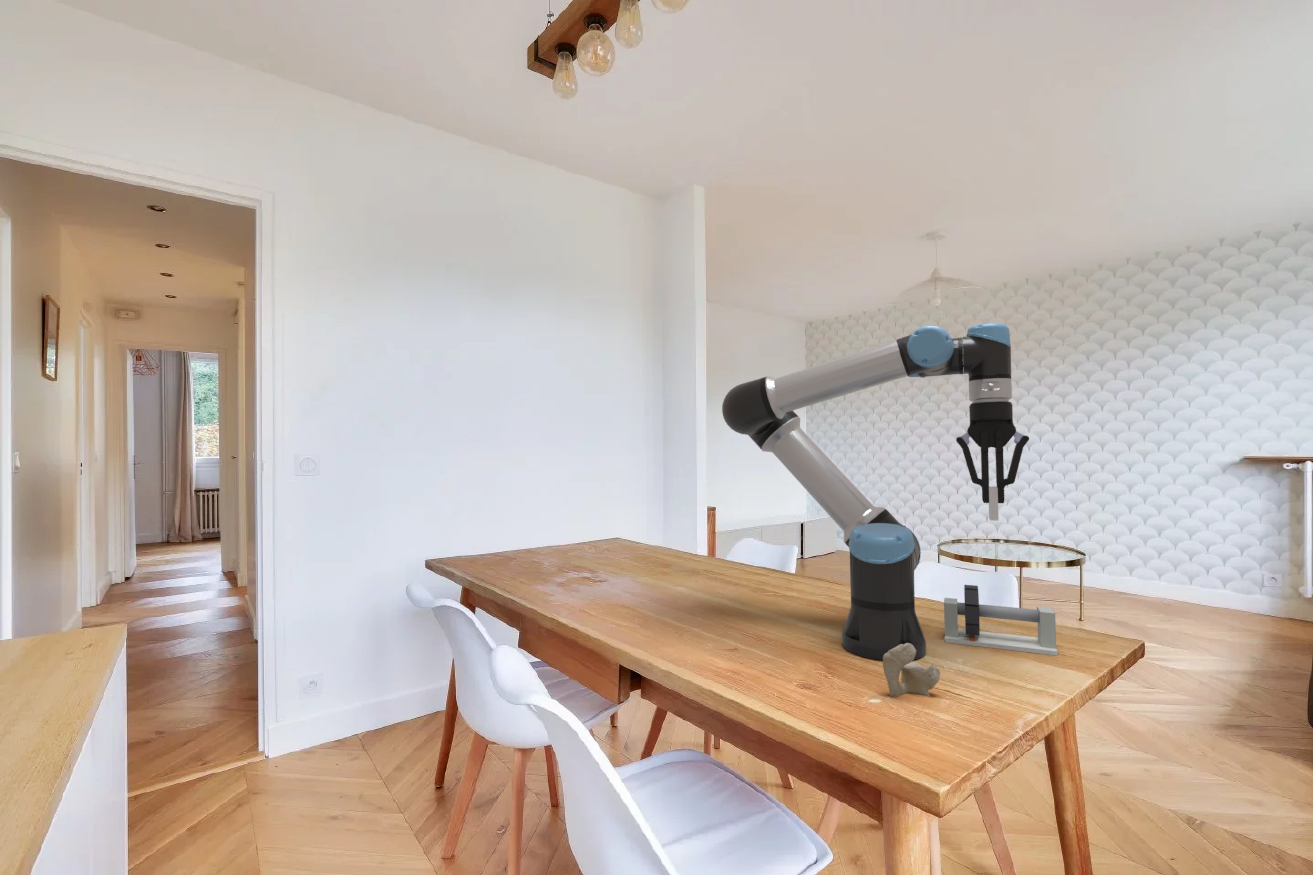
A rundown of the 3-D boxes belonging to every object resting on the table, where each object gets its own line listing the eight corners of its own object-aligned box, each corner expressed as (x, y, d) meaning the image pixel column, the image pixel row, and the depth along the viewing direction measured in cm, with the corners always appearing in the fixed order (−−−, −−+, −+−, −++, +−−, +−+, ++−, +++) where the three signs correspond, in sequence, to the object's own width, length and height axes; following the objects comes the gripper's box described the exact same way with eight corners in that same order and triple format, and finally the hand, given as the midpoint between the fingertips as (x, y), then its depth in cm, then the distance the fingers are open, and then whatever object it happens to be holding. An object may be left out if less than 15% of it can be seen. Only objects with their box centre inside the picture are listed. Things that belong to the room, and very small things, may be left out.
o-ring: (966, 638, 115) (964, 591, 116) (965, 625, 124) (964, 581, 124) (979, 639, 114) (978, 592, 115) (978, 627, 123) (977, 582, 123)
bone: (929, 671, 98) (935, 628, 93) (943, 705, 92) (950, 662, 87) (876, 673, 99) (879, 631, 94) (886, 707, 93) (890, 665, 88)
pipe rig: (944, 642, 118) (943, 604, 118) (945, 631, 125) (944, 595, 125) (1057, 655, 109) (1056, 615, 109) (1051, 643, 116) (1050, 605, 116)
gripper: (953, 402, 118) (957, 520, 117) (1030, 398, 112) (1034, 523, 111) (954, 404, 125) (957, 516, 124) (1026, 401, 119) (1030, 519, 118)
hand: (993, 519), depth 118 cm, fingers closed
